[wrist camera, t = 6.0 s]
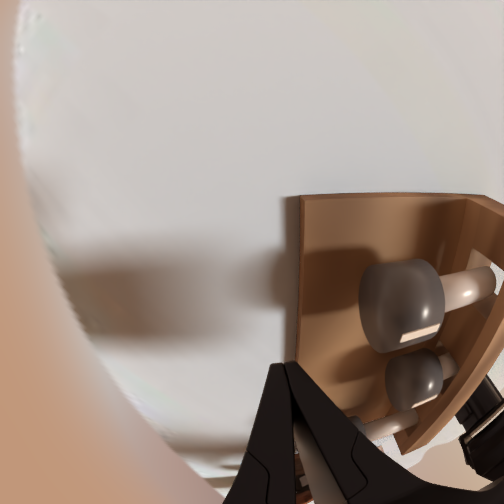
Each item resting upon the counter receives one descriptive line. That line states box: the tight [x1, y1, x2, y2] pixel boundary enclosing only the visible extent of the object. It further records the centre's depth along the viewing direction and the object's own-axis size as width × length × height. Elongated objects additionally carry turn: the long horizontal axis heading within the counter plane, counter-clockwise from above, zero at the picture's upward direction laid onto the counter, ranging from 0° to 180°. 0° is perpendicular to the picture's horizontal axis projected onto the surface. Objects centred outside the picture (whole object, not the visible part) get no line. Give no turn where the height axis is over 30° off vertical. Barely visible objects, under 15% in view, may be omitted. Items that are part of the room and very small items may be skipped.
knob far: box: [348, 408, 418, 441], centre depth 17 cm, size 8×4×4 cm, turn 94°
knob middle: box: [385, 348, 460, 412], centre depth 14 cm, size 8×4×4 cm, turn 94°
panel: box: [295, 193, 504, 455], centre depth 14 cm, size 13×22×6 cm, turn 4°
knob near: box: [358, 259, 496, 353], centre depth 11 cm, size 8×4×4 cm, turn 94°
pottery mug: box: [295, 453, 313, 504], centre depth 23 cm, size 12×10×8 cm
